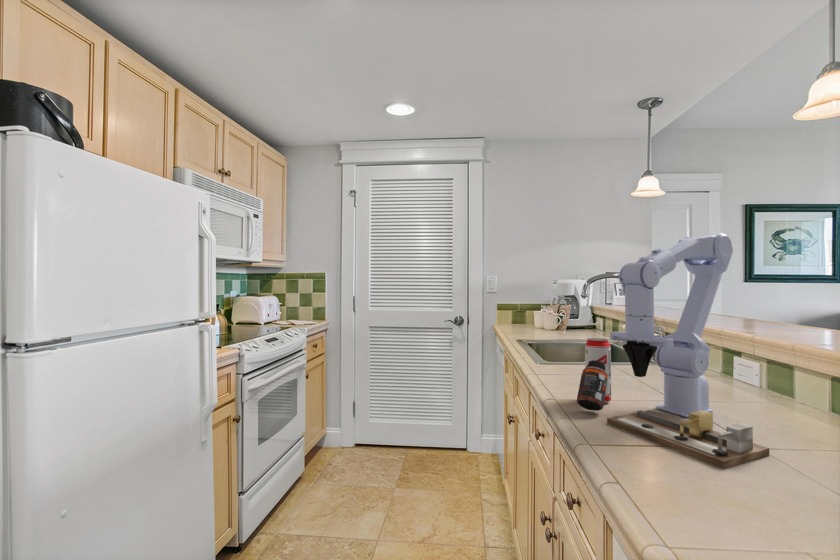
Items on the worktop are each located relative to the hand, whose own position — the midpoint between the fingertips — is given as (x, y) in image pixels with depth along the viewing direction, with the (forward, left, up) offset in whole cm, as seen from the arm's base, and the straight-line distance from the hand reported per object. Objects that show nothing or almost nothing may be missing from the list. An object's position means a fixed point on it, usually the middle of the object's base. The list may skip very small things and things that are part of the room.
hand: (640, 376), depth 93 cm
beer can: (-2, -14, -10) cm, 18 cm away
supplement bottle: (+7, -8, -8) cm, 13 cm away
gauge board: (+2, +10, -10) cm, 15 cm away
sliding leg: (+2, +14, -8) cm, 16 cm away
